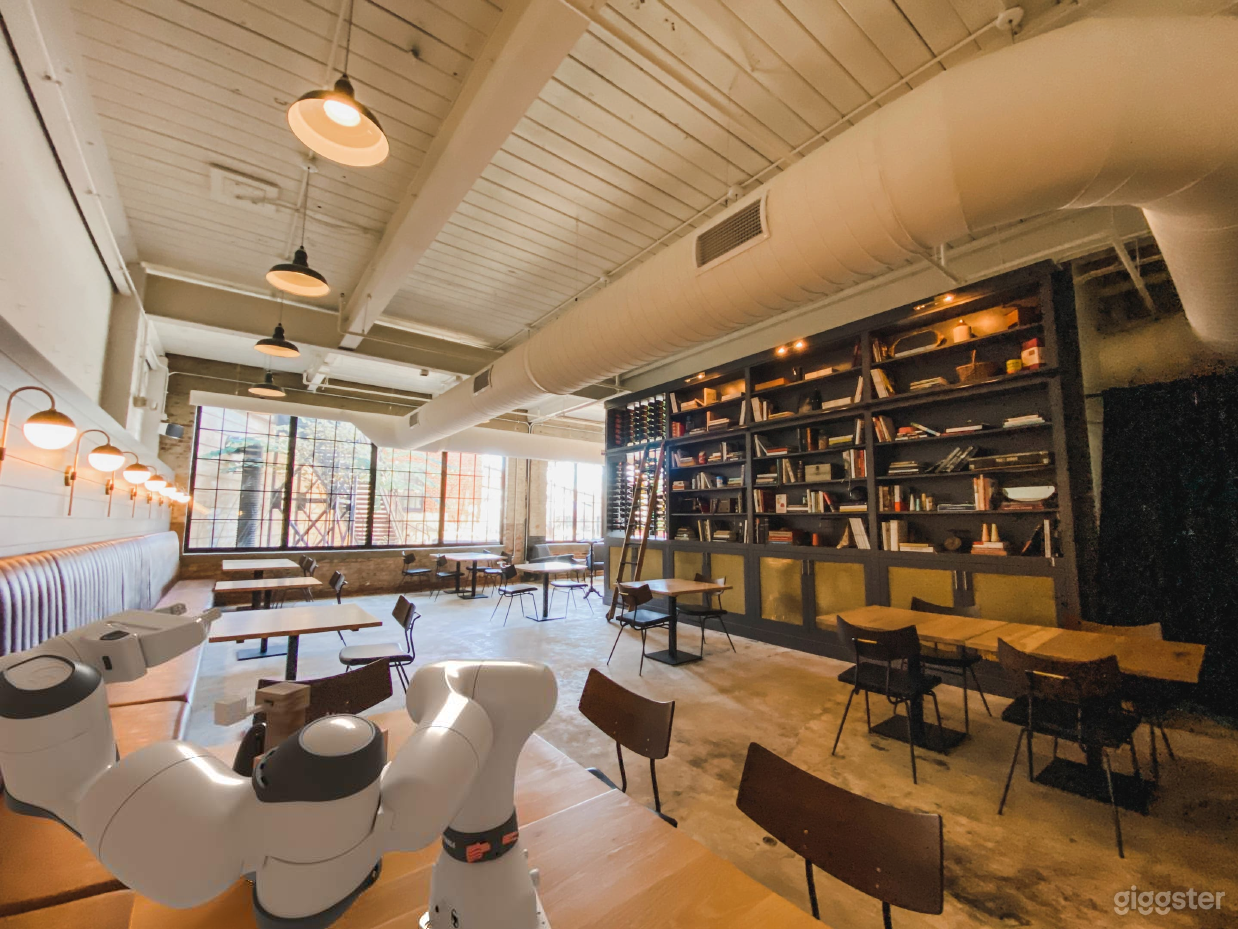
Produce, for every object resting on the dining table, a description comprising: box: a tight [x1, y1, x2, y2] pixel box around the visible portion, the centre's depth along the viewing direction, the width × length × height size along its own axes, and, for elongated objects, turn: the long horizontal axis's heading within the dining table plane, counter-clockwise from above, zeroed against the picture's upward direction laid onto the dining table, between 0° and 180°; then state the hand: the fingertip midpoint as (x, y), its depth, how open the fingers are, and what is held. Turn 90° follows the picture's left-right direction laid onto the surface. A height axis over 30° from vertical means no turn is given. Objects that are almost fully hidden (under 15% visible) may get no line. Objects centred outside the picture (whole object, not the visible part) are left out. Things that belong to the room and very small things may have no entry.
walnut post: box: [253, 681, 311, 753], centre depth 105 cm, size 8×12×29 cm, turn 70°
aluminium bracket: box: [213, 694, 274, 727], centre depth 101 cm, size 14×4×4 cm, turn 160°
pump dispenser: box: [231, 721, 266, 777], centre depth 120 cm, size 10×10×15 cm
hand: (200, 609), depth 86 cm, fingers open, 8 cm apart
